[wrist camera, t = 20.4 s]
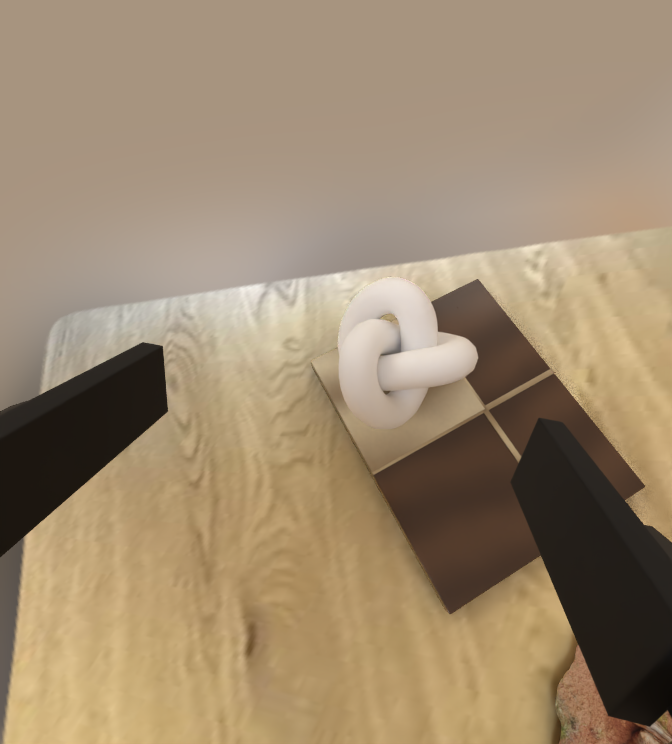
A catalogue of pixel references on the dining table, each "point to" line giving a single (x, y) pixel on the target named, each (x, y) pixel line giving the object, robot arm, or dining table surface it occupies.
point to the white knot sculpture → (395, 353)
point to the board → (471, 451)
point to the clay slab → (599, 714)
